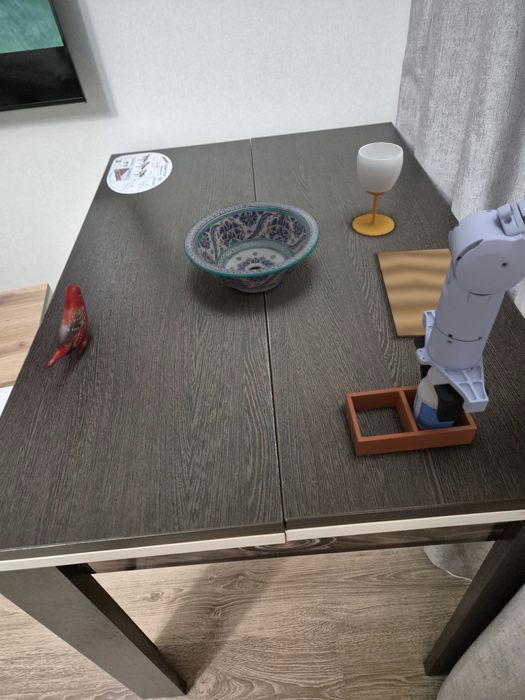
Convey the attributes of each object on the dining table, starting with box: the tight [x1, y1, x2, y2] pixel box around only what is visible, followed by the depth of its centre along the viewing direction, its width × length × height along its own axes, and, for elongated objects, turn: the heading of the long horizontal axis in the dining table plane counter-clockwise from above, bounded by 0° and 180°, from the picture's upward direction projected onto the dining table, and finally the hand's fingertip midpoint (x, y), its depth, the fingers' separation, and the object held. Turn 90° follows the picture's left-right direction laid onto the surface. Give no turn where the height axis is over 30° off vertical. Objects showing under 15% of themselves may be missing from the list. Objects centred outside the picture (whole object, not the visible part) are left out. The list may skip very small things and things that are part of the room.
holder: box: [344, 384, 478, 457], centre depth 59 cm, size 15×8×4 cm, turn 94°
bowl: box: [183, 200, 321, 294], centre depth 84 cm, size 25×25×10 cm
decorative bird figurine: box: [45, 283, 90, 371], centre depth 72 cm, size 3×18×10 cm, turn 178°
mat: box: [376, 248, 453, 339], centre depth 79 cm, size 24×14×1 cm, turn 178°
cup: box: [352, 141, 404, 237], centre depth 90 cm, size 9×9×16 cm
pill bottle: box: [411, 367, 455, 431], centre depth 57 cm, size 6×5×10 cm
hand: (437, 400), depth 57 cm, fingers closed on pill bottle, 5 cm apart
